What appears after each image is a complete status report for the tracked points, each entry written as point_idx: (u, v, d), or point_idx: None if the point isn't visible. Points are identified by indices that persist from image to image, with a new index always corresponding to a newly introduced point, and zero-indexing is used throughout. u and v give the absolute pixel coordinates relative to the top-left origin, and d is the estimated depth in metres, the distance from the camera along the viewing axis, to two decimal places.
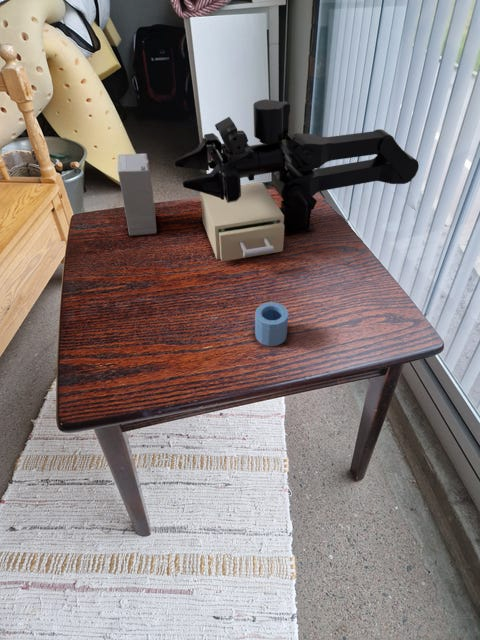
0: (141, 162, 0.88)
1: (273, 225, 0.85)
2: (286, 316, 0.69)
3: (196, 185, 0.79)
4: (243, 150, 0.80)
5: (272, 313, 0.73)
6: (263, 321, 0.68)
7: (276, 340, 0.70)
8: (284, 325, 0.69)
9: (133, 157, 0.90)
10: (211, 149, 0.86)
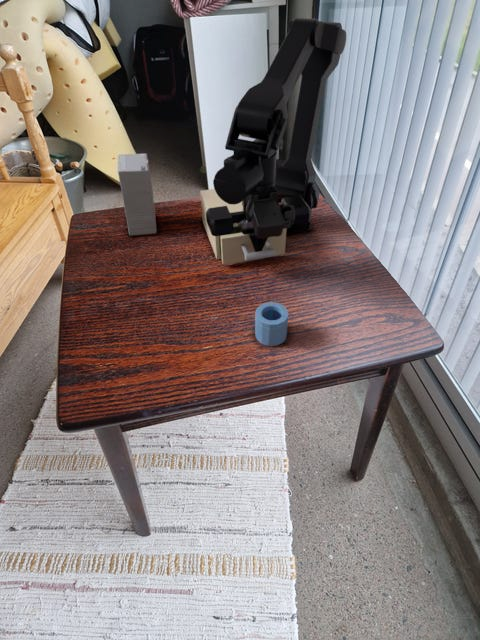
0: (141, 162, 0.88)
1: None
2: (286, 316, 0.69)
3: None
4: (276, 201, 0.73)
5: (272, 313, 0.73)
6: (263, 321, 0.68)
7: (276, 340, 0.70)
8: (284, 325, 0.69)
9: (133, 157, 0.90)
10: None
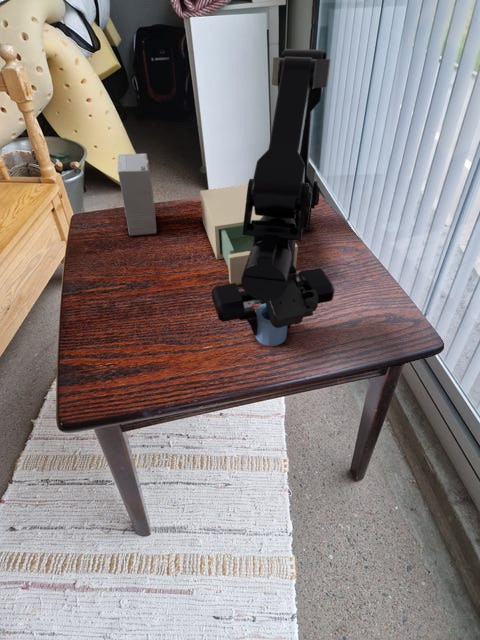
0: (141, 162, 0.88)
1: None
2: None
3: None
4: (294, 283, 0.62)
5: None
6: (263, 321, 0.68)
7: (276, 340, 0.70)
8: None
9: (133, 157, 0.90)
10: None
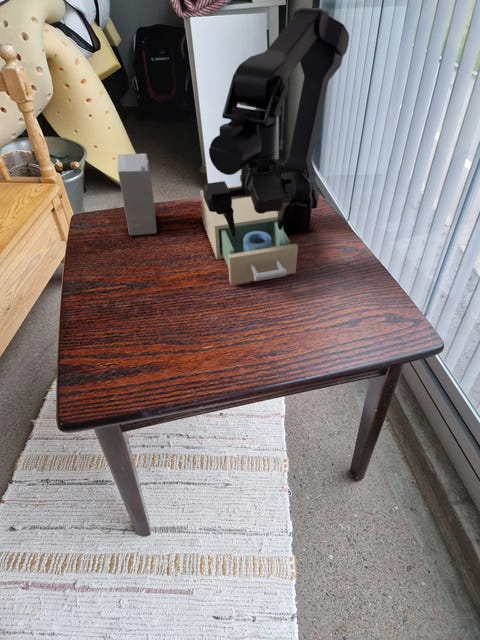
0: (141, 162, 0.88)
1: (286, 246, 0.80)
2: (269, 240, 0.81)
3: None
4: (275, 174, 0.70)
5: (258, 241, 0.85)
6: (250, 244, 0.80)
7: None
8: None
9: (133, 157, 0.90)
10: None
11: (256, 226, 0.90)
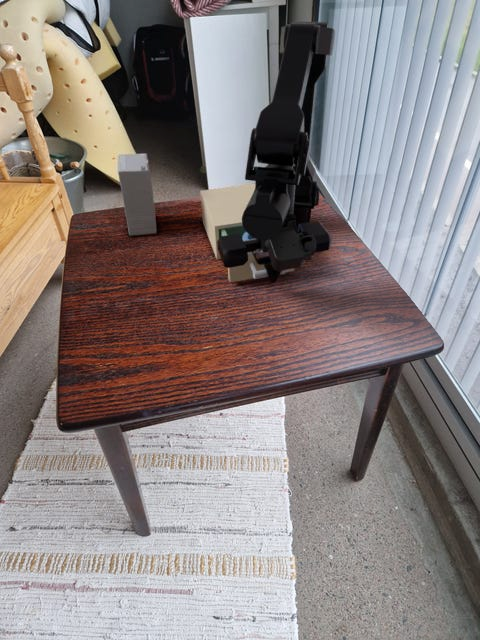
0: (141, 162, 0.88)
1: None
2: None
3: None
4: (294, 230, 0.66)
5: None
6: None
7: None
8: None
9: (133, 157, 0.90)
10: None
11: None
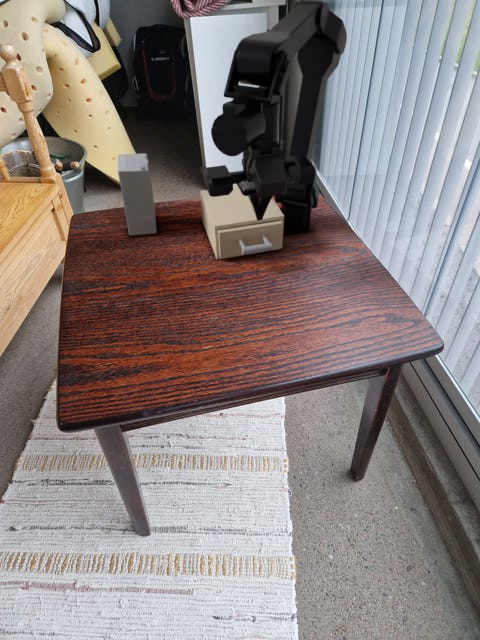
0: (141, 162, 0.88)
1: (271, 223, 0.86)
2: None
3: None
4: (278, 157, 0.67)
5: None
6: None
7: None
8: None
9: (133, 157, 0.90)
10: None
11: None
